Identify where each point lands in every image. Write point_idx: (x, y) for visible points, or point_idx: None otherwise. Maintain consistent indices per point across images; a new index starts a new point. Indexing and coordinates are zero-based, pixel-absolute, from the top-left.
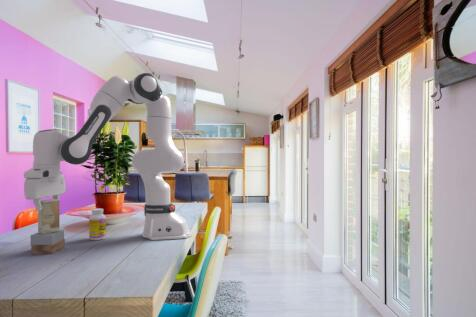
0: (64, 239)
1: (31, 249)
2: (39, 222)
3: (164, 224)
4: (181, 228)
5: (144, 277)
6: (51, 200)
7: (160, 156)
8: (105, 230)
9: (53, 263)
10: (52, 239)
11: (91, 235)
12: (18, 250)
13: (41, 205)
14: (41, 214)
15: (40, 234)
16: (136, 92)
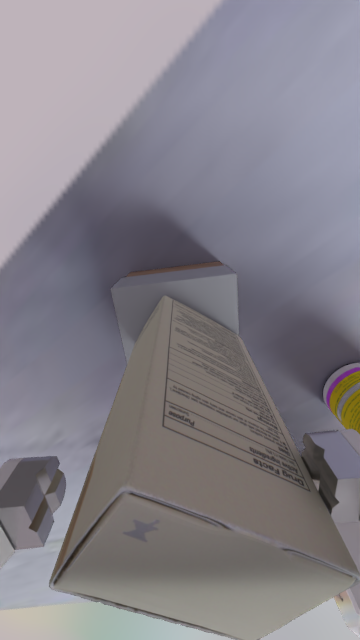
0: None
1: (127, 276)
2: (143, 341)
3: (347, 605)
4: (339, 609)
5: (38, 588)
6: (195, 612)
7: None
8: None
9: (57, 413)
10: None
11: (335, 392)
12: (170, 162)
13: (34, 538)
14: (110, 414)
15: (138, 327)
16: None
